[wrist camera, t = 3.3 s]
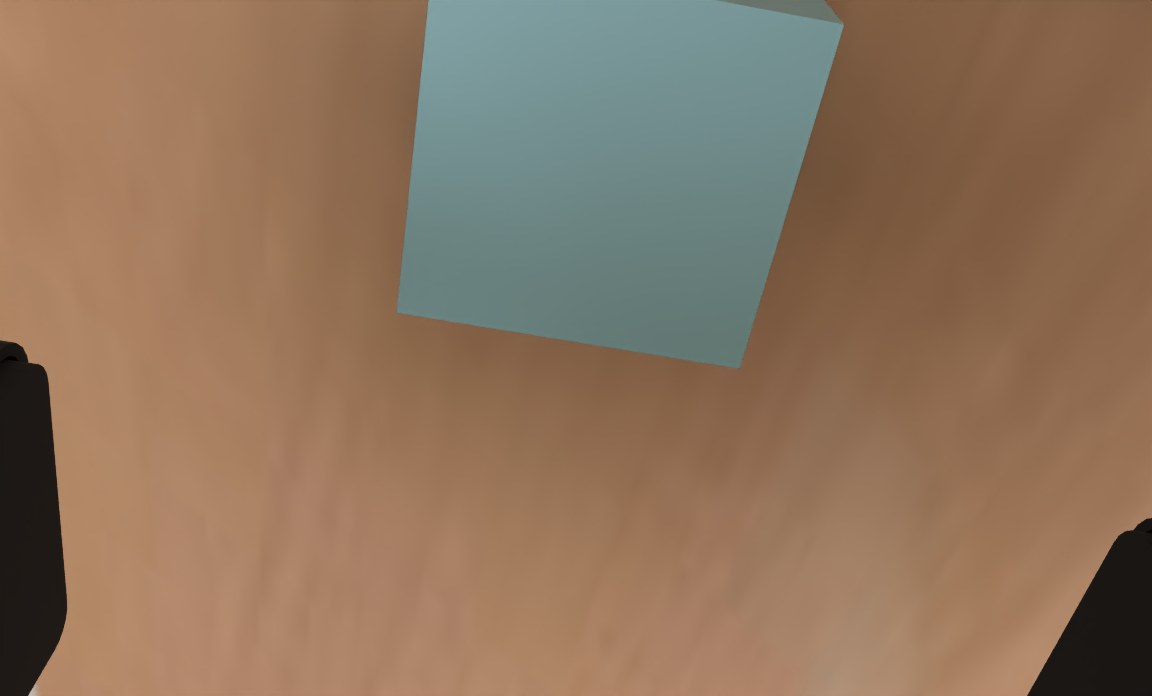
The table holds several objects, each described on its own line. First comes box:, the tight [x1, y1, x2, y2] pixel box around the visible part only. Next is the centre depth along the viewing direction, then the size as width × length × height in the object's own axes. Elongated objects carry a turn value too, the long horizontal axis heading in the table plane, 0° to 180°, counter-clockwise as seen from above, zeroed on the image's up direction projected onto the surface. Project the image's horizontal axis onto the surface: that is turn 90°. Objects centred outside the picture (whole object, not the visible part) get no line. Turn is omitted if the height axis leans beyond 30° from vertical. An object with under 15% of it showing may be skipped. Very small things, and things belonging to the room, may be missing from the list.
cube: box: [397, 0, 844, 369], centre depth 19 cm, size 6×6×6 cm
